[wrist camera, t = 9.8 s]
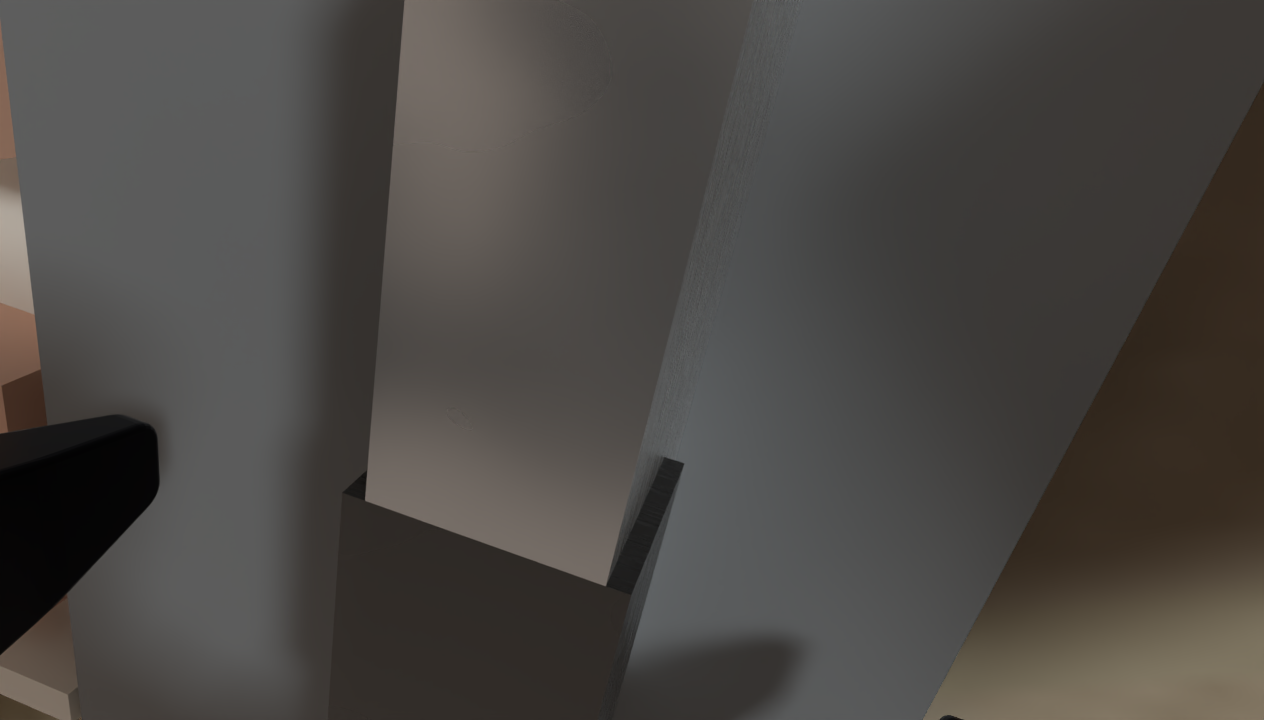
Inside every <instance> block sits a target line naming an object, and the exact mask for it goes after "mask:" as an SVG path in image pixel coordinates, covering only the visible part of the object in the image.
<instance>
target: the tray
mask: <svg viewBox="0 0 1264 720" xmlns="http://www.w3.org/2000/svg"><path fill="white" fill-rule="evenodd" d="M0 303H3V304H6V305H8V306H11V307H14V308H17V309H20V310H23V311H25V312H28V313H31V314H34V306H33V297H32V289H31V280H30V271H29V263H28V254H27V246H26V237H25V229H24V220H23V211H22V203H21V194H20V186H19V177H18V169H17V160H16V157H14V158H7V159H1V160H0ZM34 315H35V314H34ZM0 694H1V695H4V696H6V697H8V698H11V699H13V700H15V701H18V702H20V703H22V704H25V705H27V706H29V707H31V708H34V709H36V710H38V711H41V712H43V713H45V714H48V715H50V716H52V717H55V718H57V719H59V720H78V719H79V718H80V717H81V708H80V700H79V691H78V683H77V674H76V666H75V657H74V648H73V640H72V631H71V623H70V614H69V606H68V598H66V599H65V600H64V601H62V602H61V603H60V604H58V605H57V606H55V607H54V608H53V609H51V610H50V611H49V612H48V613H47V614H46V615H45V616H44V617H43V618H42V619H40V620H39V621H38V622H37V623H36V624H35V625H34V626H33V627H32V628H31V629H29V630H28V631H27V632H26V633H25V634H24V635H23V636H22V637H21V638H19V639H18V640H17V641H16V642H15V643H14V644H13V645H12V646H10V647H9V648H8V649H7V650H6V651H5V652H4V653H3V654H1V655H0Z"/></svg>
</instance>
